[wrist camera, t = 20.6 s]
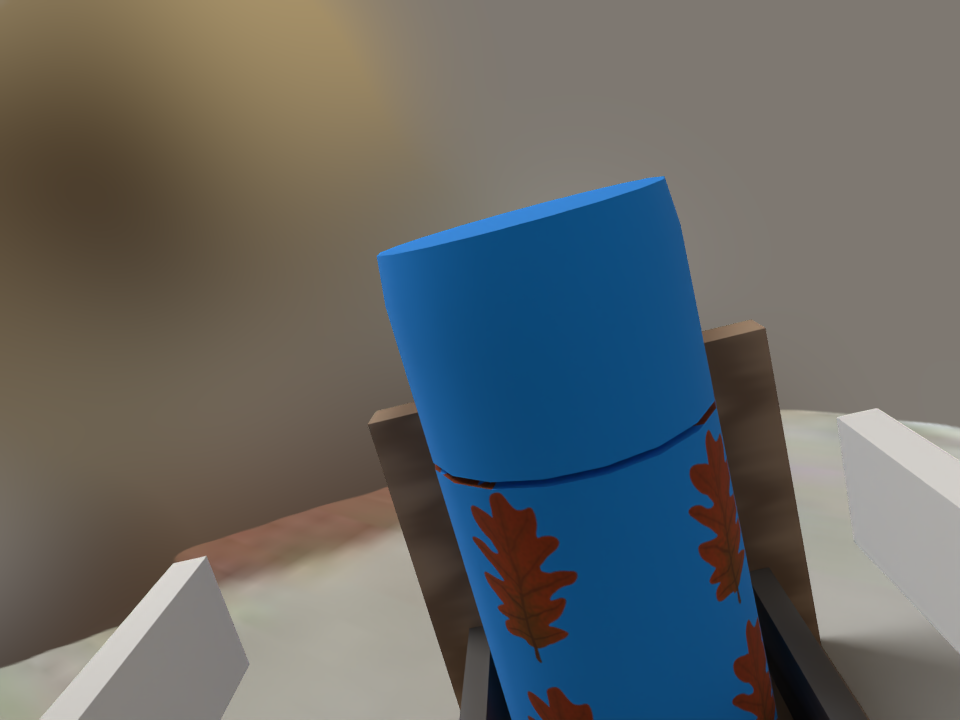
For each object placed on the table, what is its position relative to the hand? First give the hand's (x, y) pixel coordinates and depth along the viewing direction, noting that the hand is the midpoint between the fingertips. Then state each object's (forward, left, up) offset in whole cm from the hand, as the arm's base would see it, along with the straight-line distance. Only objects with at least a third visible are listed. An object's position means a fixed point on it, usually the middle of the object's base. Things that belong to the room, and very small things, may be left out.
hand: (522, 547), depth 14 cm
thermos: (+1, +13, -19) cm, 23 cm away
